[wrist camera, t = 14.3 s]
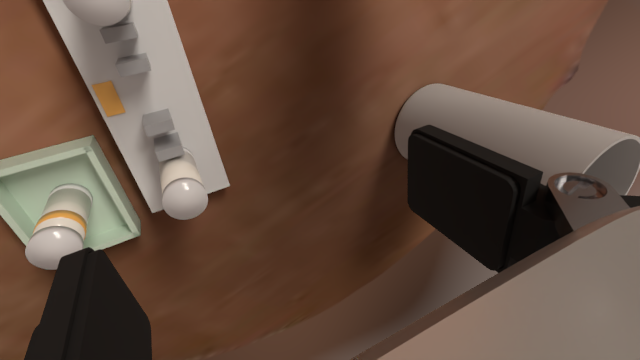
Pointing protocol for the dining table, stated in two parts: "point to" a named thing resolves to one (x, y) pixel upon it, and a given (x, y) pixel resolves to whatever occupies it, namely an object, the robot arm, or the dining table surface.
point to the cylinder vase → (523, 134)
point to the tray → (60, 168)
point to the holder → (143, 91)
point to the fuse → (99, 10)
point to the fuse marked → (60, 226)
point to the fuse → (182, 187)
